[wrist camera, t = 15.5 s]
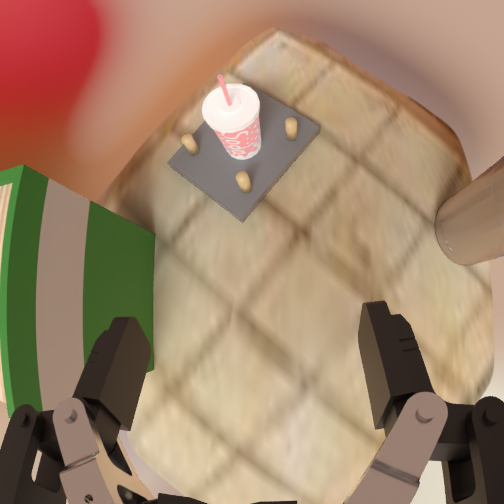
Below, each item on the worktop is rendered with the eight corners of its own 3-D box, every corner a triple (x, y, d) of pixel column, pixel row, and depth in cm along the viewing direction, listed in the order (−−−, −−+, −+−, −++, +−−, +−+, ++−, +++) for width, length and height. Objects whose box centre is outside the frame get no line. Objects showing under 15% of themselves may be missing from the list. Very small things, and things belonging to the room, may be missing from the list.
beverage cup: (213, 159, 40) (176, 96, 26) (229, 120, 40) (203, 50, 27) (258, 170, 39) (239, 106, 25) (273, 129, 39) (262, 57, 26)
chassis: (245, 88, 43) (240, 67, 38) (319, 132, 40) (321, 112, 35) (171, 167, 42) (157, 151, 37) (242, 222, 39) (235, 211, 34)
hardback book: (153, 369, 38) (16, 421, 14) (106, 363, 39) (-34, 394, 15) (155, 234, 41) (23, 164, 17) (108, 236, 42) (-26, 181, 18)
